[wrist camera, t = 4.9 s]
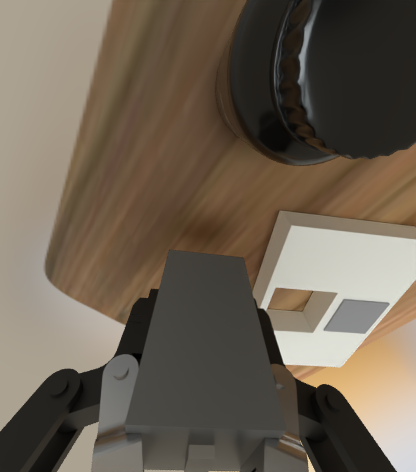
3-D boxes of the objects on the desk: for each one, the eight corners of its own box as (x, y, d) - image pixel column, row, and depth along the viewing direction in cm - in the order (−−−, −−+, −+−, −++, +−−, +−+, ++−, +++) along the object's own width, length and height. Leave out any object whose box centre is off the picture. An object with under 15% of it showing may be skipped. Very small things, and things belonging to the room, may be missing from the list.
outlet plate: (279, 210, 19) (292, 226, 17) (416, 226, 21) (448, 244, 18) (236, 339, 29) (239, 363, 27) (329, 345, 31) (341, 368, 28)
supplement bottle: (201, 121, 16) (198, 142, 5) (239, -2, 12) (427, -567, 2) (280, 155, 17) (402, 224, 7) (334, 52, 14) (735, -126, 3)
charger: (169, 249, 12) (120, 440, 5) (243, 257, 13) (290, 445, 6) (166, 301, 15) (130, 481, 8) (229, 306, 15) (250, 483, 8)
